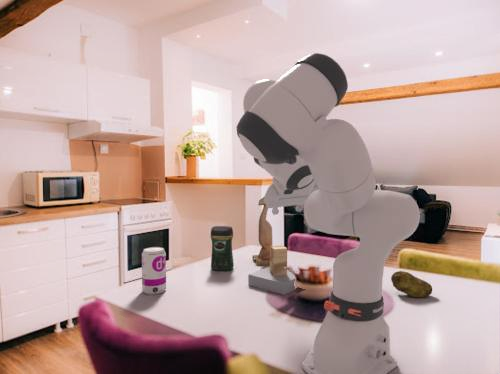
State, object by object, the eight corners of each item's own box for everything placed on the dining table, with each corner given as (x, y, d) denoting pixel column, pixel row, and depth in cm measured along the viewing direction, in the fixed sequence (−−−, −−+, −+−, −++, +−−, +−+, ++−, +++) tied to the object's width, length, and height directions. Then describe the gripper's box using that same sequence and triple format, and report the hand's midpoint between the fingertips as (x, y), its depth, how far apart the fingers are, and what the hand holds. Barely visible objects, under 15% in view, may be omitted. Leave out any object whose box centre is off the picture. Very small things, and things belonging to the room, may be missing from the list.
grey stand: (284, 294, 121) (284, 283, 121) (248, 284, 132) (248, 274, 131) (307, 282, 134) (307, 272, 134) (273, 274, 144) (273, 265, 144)
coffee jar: (235, 266, 155) (235, 225, 154) (230, 272, 147) (230, 228, 146) (214, 265, 157) (214, 224, 156) (208, 270, 149) (208, 227, 148)
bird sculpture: (250, 260, 168) (248, 193, 165) (274, 257, 170) (272, 192, 168) (256, 266, 157) (254, 195, 154) (281, 264, 160) (280, 194, 157)
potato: (432, 302, 115) (432, 278, 114) (389, 296, 121) (390, 273, 120) (432, 294, 122) (432, 271, 122) (392, 288, 128) (392, 266, 127)
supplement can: (170, 290, 125) (170, 249, 124) (150, 297, 119) (149, 253, 118) (158, 285, 131) (157, 245, 130) (137, 291, 125) (137, 249, 124)
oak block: (287, 274, 131) (287, 248, 130) (274, 276, 129) (274, 249, 129) (282, 271, 136) (282, 245, 135) (269, 272, 134) (269, 246, 134)
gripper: (321, 173, 118) (306, 202, 127) (268, 177, 109) (256, 208, 118) (331, 186, 114) (315, 214, 123) (277, 191, 105) (264, 222, 114)
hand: (286, 211), depth 121 cm, fingers open, 8 cm apart
